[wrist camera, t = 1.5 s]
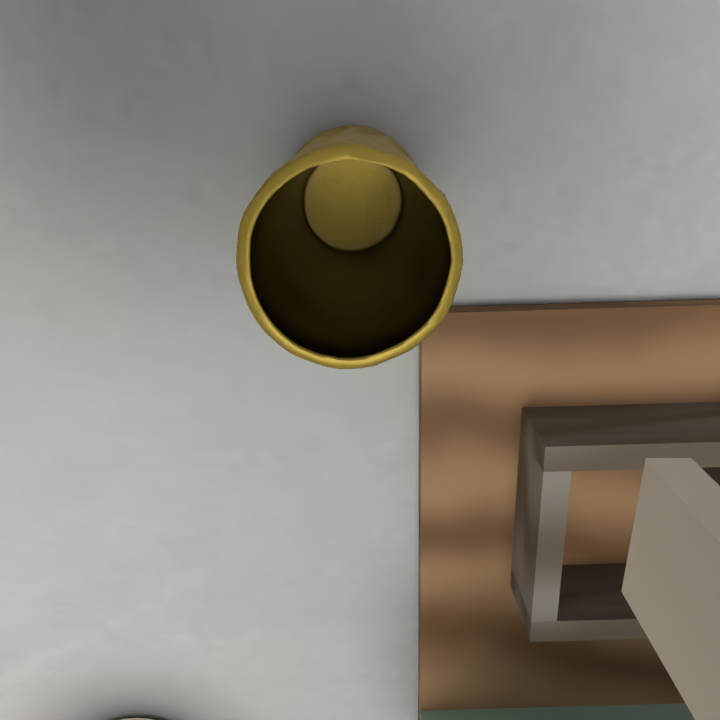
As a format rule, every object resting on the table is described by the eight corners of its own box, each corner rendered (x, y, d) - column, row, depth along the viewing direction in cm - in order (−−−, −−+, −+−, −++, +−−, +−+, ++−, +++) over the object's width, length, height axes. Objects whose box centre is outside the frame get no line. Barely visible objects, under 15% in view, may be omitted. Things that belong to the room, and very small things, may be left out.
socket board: (419, 307, 29) (431, 341, 25) (891, 293, 29) (993, 325, 25) (418, 720, 38) (426, 803, 34) (780, 711, 38) (839, 792, 34)
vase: (450, 203, 28) (536, 271, 14) (349, 295, 29) (343, 435, 16) (355, 93, 26) (355, 56, 13) (254, 196, 28) (158, 259, 14)
